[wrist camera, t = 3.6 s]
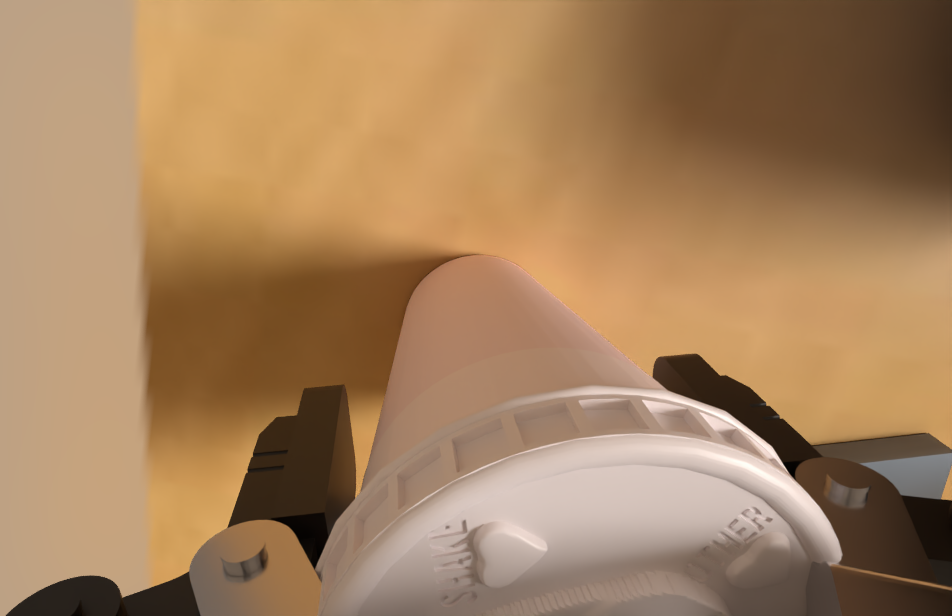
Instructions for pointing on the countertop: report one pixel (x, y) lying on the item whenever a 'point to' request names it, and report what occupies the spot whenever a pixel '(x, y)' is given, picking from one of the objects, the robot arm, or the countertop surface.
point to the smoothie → (557, 477)
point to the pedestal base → (901, 461)
